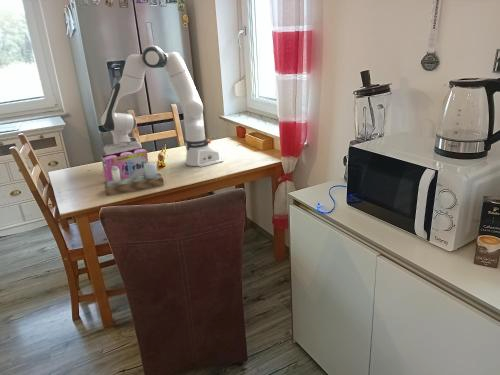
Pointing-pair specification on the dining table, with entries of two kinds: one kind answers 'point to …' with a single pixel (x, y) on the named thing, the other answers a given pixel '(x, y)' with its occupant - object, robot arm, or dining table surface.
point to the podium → (132, 184)
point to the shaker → (116, 175)
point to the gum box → (125, 163)
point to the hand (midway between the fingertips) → (127, 164)
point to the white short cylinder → (150, 170)
